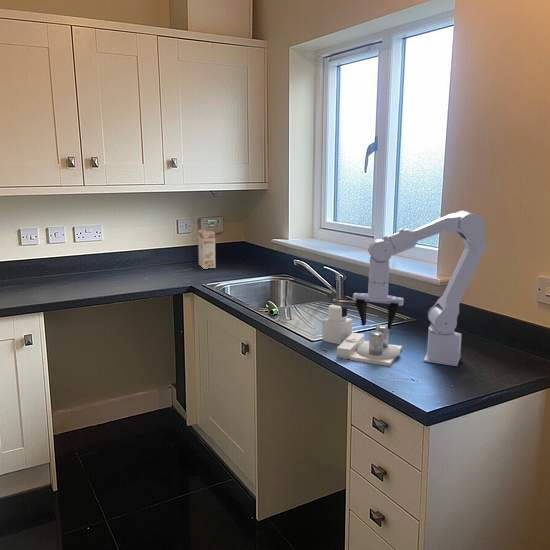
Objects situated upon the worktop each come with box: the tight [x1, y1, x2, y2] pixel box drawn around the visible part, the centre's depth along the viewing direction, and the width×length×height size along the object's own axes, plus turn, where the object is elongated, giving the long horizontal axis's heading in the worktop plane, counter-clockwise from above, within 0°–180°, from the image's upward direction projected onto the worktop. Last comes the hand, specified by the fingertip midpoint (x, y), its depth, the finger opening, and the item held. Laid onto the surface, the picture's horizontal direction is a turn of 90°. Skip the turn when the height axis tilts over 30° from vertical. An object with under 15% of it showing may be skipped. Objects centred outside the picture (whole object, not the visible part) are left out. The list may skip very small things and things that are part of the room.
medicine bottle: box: [321, 303, 353, 346], centre depth 182 cm, size 7×7×12 cm
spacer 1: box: [368, 331, 383, 356], centre depth 166 cm, size 4×4×6 cm
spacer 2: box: [375, 324, 390, 348], centre depth 172 cm, size 4×4×6 cm
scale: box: [336, 332, 403, 367], centre depth 170 cm, size 17×16×4 cm
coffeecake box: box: [197, 228, 217, 270], centre depth 298 cm, size 15×7×20 cm, turn 16°
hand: (376, 326), depth 165 cm, fingers open, 7 cm apart
